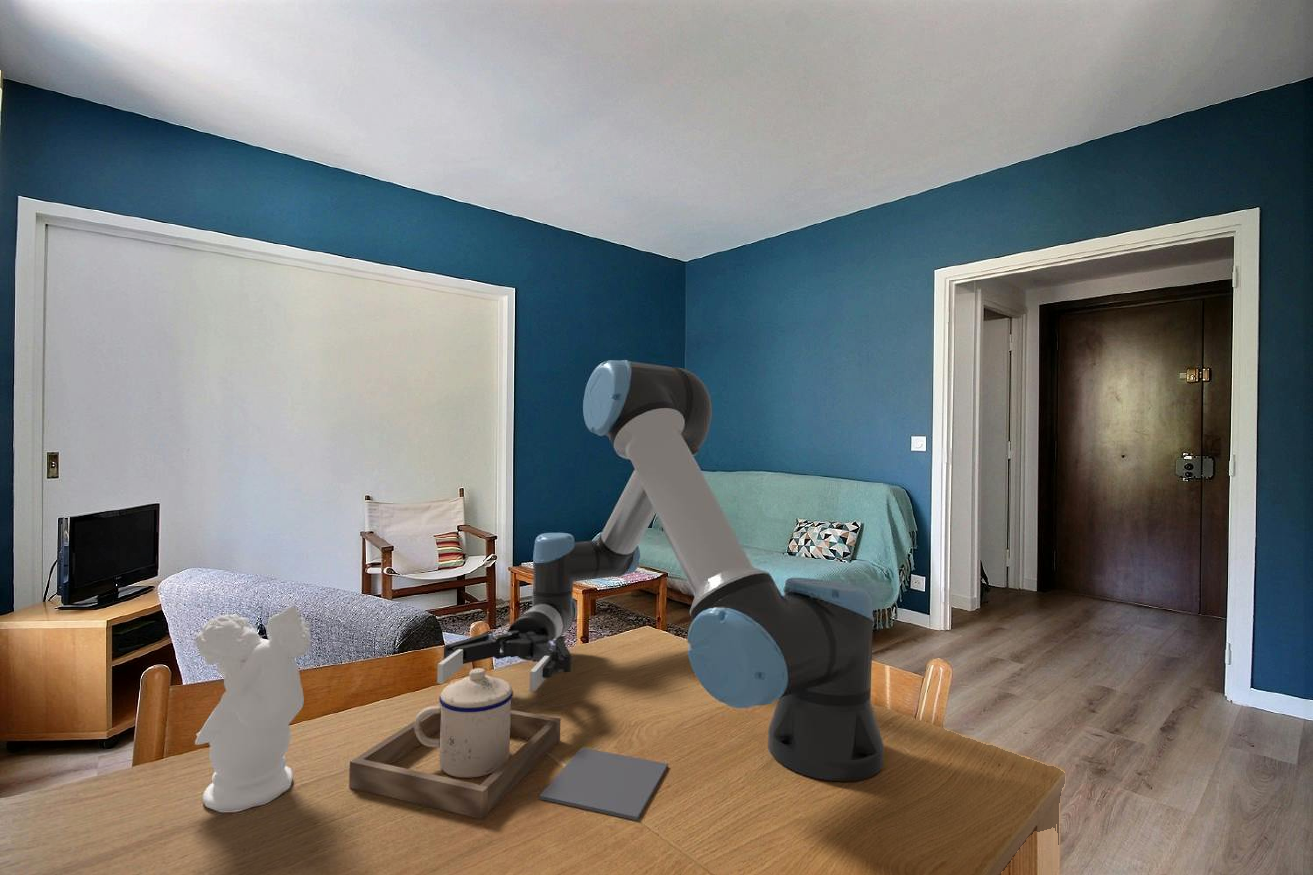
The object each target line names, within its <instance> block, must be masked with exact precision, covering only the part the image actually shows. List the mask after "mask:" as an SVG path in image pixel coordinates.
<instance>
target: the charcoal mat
mask: <svg viewBox="0 0 1313 875" xmlns="http://www.w3.org/2000/svg"><path fill="white" fill-rule="evenodd" d="M668 766H669V763H667V762H661V761H655V760H650V759H645V758H639V757H635V756H630V755H629V756H628V755H624V754H618V753H614V752H608V751H602V750H597V749H592V748H587V747H581V748H580V749H579V750H578V751H577V752H576V754H575V755H574V756H573V757H572V758H571V759H570V760H569V761H568V763H567V764H566V765H565V766H564V767H563V768H562V769H561V771H560V772H559V773H558V774H557V775H556V776H555V777H554V778H553V779H552V780H551V781H550V783H549V784H548V785H547V786H546V787H545V788H544V789H543V791H541V793H540V794H539V795H538V799H539V800H543V801H547V802H551V803H555V804H561V805H565V806H570V807H574V808H578V809H583V810H588V811H592V812H595V813H600V814H606V815H610V816H615V817H620V818H622V819H629V820H633V821H638V820H639V818H640V816H641V814H642V813H643V811H644V809H645V808H646V806H647V804H648V803H649V802H650V801H649V800H650V799H651V797H652V796H653V794H654V792H655V790H656V788H657V786H658V785H659V783H660V781H661V780H662V778H663V776H664V775H665V772H666V771H667V769H668Z"/></svg>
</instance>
